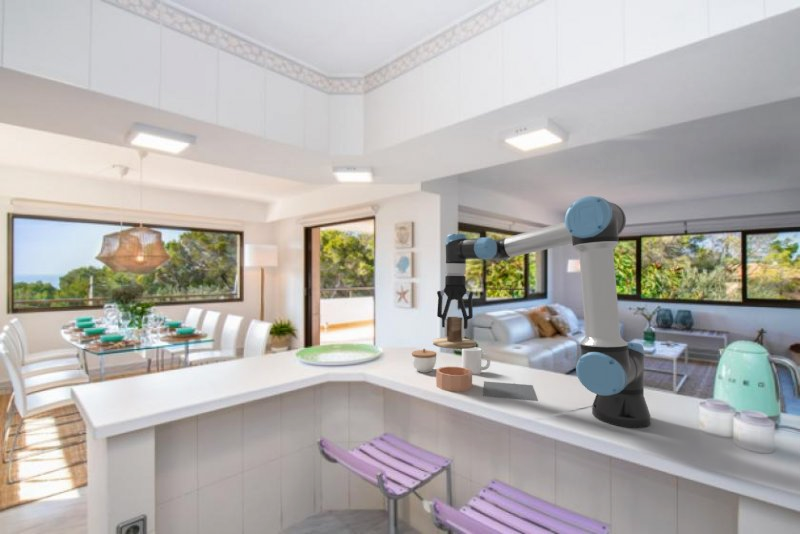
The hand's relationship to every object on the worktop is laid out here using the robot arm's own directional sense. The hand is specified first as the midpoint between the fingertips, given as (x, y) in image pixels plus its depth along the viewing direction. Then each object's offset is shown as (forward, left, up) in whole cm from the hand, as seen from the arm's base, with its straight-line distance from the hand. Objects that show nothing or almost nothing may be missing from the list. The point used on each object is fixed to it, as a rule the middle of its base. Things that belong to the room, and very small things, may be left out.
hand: (454, 336), depth 141 cm
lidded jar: (+25, -2, -19) cm, 31 cm away
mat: (-13, -15, -19) cm, 27 cm away
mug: (+12, -20, -19) cm, 30 cm away
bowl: (0, 0, -19) cm, 19 cm away
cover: (0, 0, -3) cm, 3 cm away
